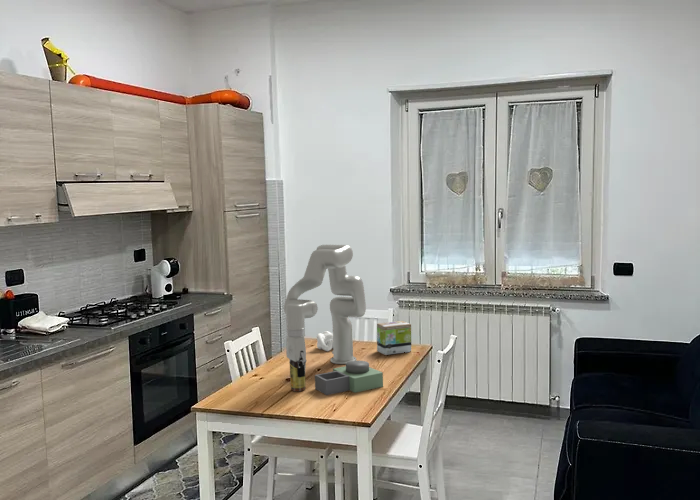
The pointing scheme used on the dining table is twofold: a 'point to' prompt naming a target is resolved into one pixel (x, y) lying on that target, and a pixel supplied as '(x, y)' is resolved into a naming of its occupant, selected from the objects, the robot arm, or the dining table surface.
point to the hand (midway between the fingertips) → (297, 374)
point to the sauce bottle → (296, 377)
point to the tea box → (393, 337)
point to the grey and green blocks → (349, 378)
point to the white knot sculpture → (325, 341)
